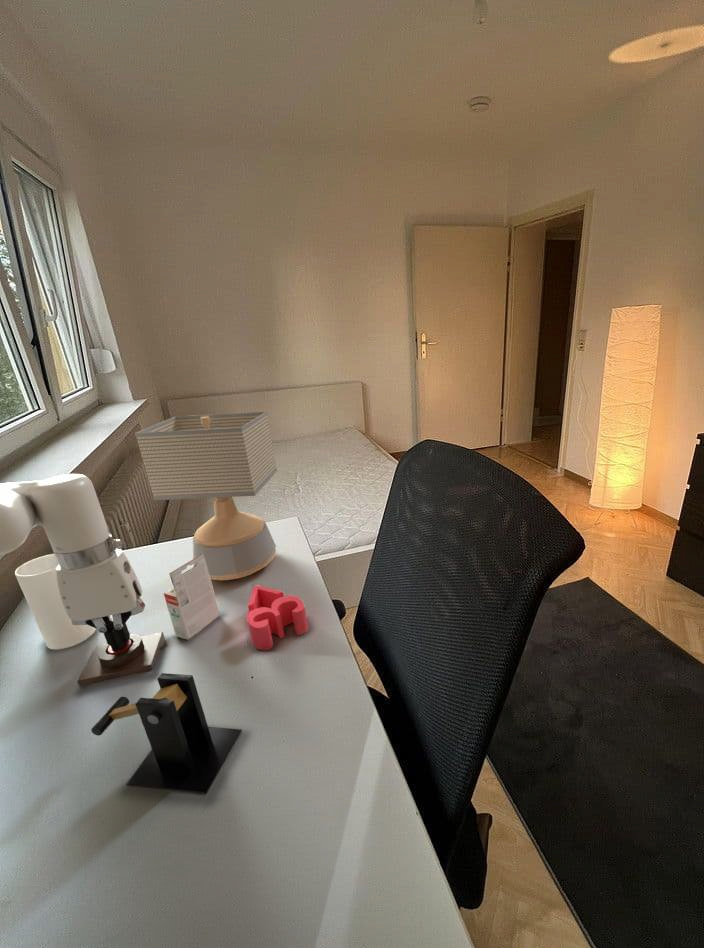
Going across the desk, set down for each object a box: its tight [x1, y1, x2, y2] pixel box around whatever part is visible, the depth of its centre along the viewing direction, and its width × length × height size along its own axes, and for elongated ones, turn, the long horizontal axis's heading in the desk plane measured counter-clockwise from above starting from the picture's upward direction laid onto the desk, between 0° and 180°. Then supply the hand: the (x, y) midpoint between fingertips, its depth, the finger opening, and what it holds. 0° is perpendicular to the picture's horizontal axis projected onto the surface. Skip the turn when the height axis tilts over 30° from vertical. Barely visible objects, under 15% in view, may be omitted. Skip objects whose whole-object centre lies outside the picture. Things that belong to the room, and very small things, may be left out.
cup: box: [14, 553, 97, 650], centre depth 84 cm, size 8×8×16 cm
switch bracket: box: [126, 672, 243, 795], centre depth 57 cm, size 11×9×13 cm
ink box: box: [163, 554, 221, 641], centre depth 84 cm, size 4×8×15 cm, turn 156°
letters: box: [246, 584, 309, 651], centre depth 86 cm, size 14×10×5 cm
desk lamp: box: [134, 411, 278, 581], centre depth 101 cm, size 22×19×37 cm
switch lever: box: [90, 684, 187, 737], centre depth 57 cm, size 12×5×2 cm, turn 82°
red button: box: [108, 639, 133, 655], centre depth 77 cm, size 4×4×2 cm
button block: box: [76, 631, 166, 688], centre depth 77 cm, size 11×9×4 cm
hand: (121, 644), depth 76 cm, fingers closed
